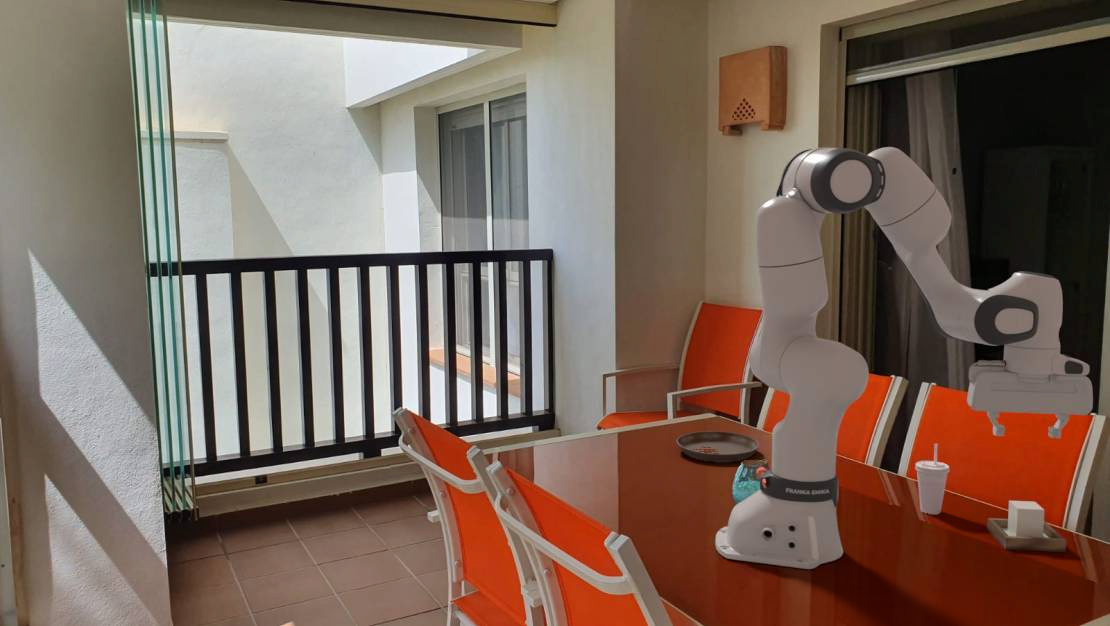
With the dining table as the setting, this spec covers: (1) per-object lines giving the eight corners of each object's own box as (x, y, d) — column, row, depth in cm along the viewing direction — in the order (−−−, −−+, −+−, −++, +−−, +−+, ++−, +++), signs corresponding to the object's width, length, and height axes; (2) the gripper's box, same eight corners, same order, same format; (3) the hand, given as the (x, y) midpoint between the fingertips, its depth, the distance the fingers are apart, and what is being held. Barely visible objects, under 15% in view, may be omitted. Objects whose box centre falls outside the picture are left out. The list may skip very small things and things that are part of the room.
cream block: (1015, 540, 156) (1017, 508, 155) (1007, 531, 160) (1009, 500, 159) (1042, 541, 155) (1044, 509, 154) (1033, 532, 159) (1035, 501, 159)
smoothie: (951, 517, 170) (954, 449, 168) (917, 515, 171) (919, 447, 169) (943, 506, 176) (946, 440, 174) (910, 505, 177) (912, 439, 176)
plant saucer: (767, 465, 207) (767, 452, 207) (682, 466, 208) (682, 452, 207) (749, 443, 228) (749, 430, 228) (671, 443, 228) (672, 431, 228)
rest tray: (1005, 549, 153) (1005, 537, 153) (987, 529, 163) (987, 518, 163) (1065, 552, 152) (1066, 540, 152) (1043, 531, 162) (1044, 520, 161)
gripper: (974, 362, 153) (970, 438, 154) (1099, 366, 149) (1094, 443, 151) (964, 357, 159) (960, 429, 160) (1084, 360, 155) (1078, 434, 157)
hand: (1026, 436), depth 156 cm, fingers open, 8 cm apart
